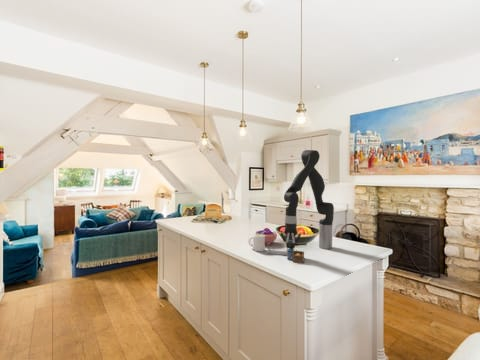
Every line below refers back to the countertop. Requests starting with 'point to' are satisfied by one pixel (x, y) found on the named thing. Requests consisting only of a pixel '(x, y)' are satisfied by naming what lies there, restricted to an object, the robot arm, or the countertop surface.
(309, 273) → the countertop surface
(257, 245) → the mug
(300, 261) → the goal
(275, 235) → the cell model
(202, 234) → the countertop surface
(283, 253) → the rail
